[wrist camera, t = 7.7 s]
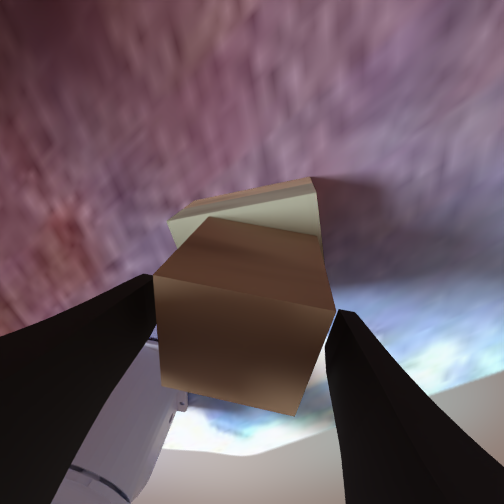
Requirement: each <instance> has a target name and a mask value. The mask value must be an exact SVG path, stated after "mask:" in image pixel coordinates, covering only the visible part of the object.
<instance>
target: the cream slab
mask: <svg viewBox="0 0 504 504" xmlns="http://www.w3.org/2000/svg"><path fill="white" fill-rule="evenodd" d="M207 217H214V218H220V219H225V220H231V221H236V222H242V223H248V224H253V225H259V226H264V227H270V228H276V229H281V230H287V231H292V232H298V233H304V234H309V235H315V236H317V238H318V242H319V246H320V249H321V253H322V257H323V261H324V255H323V246H322V238H321V229H320V220H319V211H318V202H317V194H316V190H315V188H314V186H313V183H312V181H311V178H310V177H306V178H301V179H296V180H291V181H286V182H282V183H277V184H272V185H267V186H262V187H258V188H253V189H248V190H243V191H238V192H234V193H229V194H224V195H219V196H214V197H210V198H205V199H200V200H195V201H193V202H192V203H190V204H189V205H188V206H186V207H185V208H184V209H182V210H181V211H180V212H178V213H177V214H176V215H174V216H173V217H171V218H170V219H169V220H167V224H168V226H169V229H170V231H171V234H172V236H173V239H174V241H175V244H176V246H177V249H178V248H179V247H180V246H181V245H182V244H183V243H184V242H185V241H186V240H187V238H188V237H189V236H190V235H191V234H192V233H193V232H194V231H195V230H196V229H197V228H198V227H199V226H200V225H201V224H202V223H203V222H204V221H205V220H206V218H207ZM324 265H325V264H324Z"/></svg>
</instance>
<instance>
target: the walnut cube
mask: <svg viewBox="0 0 504 504" xmlns="http://www.w3.org/2000/svg"><path fill="white" fill-rule="evenodd" d="M153 283H154V296H155V309H156V322H157V335H158V348H159V361H160V373H161V386H163V387H168V388H172V389H177V390H181V391H185V392H190V393H194V394H198V395H203V396H207V397H212V398H216V399H220V400H225V401H229V402H233V403H238V404H242V405H246V406H251V407H255V408H260V409H264V410H268V411H273V412H277V413H281V414H286V415H290V416H295V414H296V412H297V409H298V407H299V404H300V402H301V399H302V397H303V394H304V392H305V389H306V387H307V384H308V382H309V379H310V376H311V374H312V371H313V369H314V366H315V364H316V361H317V359H318V356H319V354H320V351H321V349H322V346H323V344H324V341H325V339H326V336H327V333H328V331H329V328H330V326H331V323H332V321H333V318H334V316H335V313H336V308H335V304H334V300H333V297H332V293H331V289H330V285H329V281H328V277H327V273H326V269H325V265H324V261H323V257H322V253H321V249H320V246H319V242H318V238H317V236H315V235H309V234H304V233H298V232H292V231H287V230H281V229H276V228H270V227H264V226H259V225H253V224H248V223H242V222H236V221H231V220H225V219H220V218H214V217H207V218H206V220H205V221H204V222H203V223H202V224H201V225H200V226H199V227H198V228H197V229H196V230H195V231H194V232H193V233H192V234H191V235H190V236H189V237H188V238H187V240H186V241H185V242H184V243H183V244H182V245H181V246H180V247H179V248H178V249H177V250H176V251H175V252H174V253H173V254H172V255H171V256H170V257H169V258H168V260H167V261H166V262H165V263H164V264H163V265H162V266H161V267H160V268H159V269H158V270H157V271H156V272H155V273H154V274H153Z"/></svg>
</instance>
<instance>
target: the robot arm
mask: <svg viewBox="0 0 504 504" xmlns="http://www.w3.org/2000/svg"><path fill="white" fill-rule="evenodd" d="M156 324H157V322H156V309H155V296H154V283H153V275H148V274H142V275H139V276H137V277H135V278H133V279H131V280H129V281H126V282H124V283H122V284H120V285H118V286H116V287H114V288H112V289H110V290H108V291H106V292H104V293H102V294H100V295H98V296H96V297H94V298H92V299H90V300H88V301H86V302H84V303H81V304H79V305H77V306H75V307H73V308H70V309H68V310H66V311H64V312H61V313H59V314H57V315H55V316H53V317H50V318H48V319H45V320H43V321H40V322H38V323H36V324H33V325H30V326H28V327H25V328H22V329H20V330H17V331H15V332H12V333H9V334H6V335H4V336H1V337H0V504H130V503H131V502H132V501H133V500H134V499H135V498H136V497H137V496H138V495H139V494H140V492H141V491H142V490H143V488H144V487H145V485H146V484H147V482H148V480H149V478H150V476H151V474H152V471H153V468H154V466H155V464H156V461H157V459H158V456H159V453H160V451H161V449H162V446H163V444H164V441H165V439H166V436H167V434H168V431H169V429H170V426H171V424H172V421H173V419H174V416H175V414H176V411H181V412H185V411H187V408H188V392H185V391H181V390H177V389H172V388H168V387H163V386H161V373H160V361H159V348H158V342H156V341H151V340H148V339H149V337H150V335H151V334H152V332H153V330H154V328H155V326H156ZM325 362H326V374H327V380H328V385H329V391H330V396H331V401H332V407H333V412H334V417H335V423H336V428H337V433H338V439H339V445H340V452H341V459H342V469H343V479H344V489H345V500H346V504H504V467H503V466H502V465H501V464H500V463H499V462H498V461H496V460H495V459H494V458H493V457H492V456H491V455H489V454H488V453H487V452H486V451H485V450H484V449H483V448H481V446H479V445H478V444H477V443H476V442H475V441H474V440H473V439H472V438H471V437H470V436H468V435H467V434H466V433H465V432H464V431H463V430H462V429H461V428H460V427H459V426H458V425H457V424H456V423H455V422H454V421H453V420H452V419H451V418H450V417H449V416H448V415H447V414H446V413H444V412H443V411H442V410H441V409H440V408H439V407H438V406H437V405H436V404H435V403H434V402H433V401H432V400H431V399H430V398H429V397H428V396H427V395H426V393H425V392H424V391H423V390H422V389H421V388H420V387H419V386H418V385H417V384H416V383H415V382H414V381H413V380H412V378H411V377H410V376H409V375H408V374H407V373H406V372H405V371H404V370H403V369H402V367H401V366H400V365H399V364H398V363H397V362H396V361H395V359H394V358H393V357H392V356H391V355H390V354H389V352H388V351H387V350H386V349H385V348H384V346H383V345H382V344H381V343H380V342H379V340H378V339H377V338H376V337H375V336H374V334H373V333H372V332H371V331H370V329H369V328H368V327H367V326H366V325H365V323H364V322H363V321H362V320H361V319H360V317H359V316H358V315H357V314H356V313H355V312H351V311H346V310H340V309H339V310H338V313H337V315H336V318H335V320H334V323H333V326H332V328H331V331H330V334H329V336H328V339H327V342H326V344H325Z"/></svg>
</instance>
